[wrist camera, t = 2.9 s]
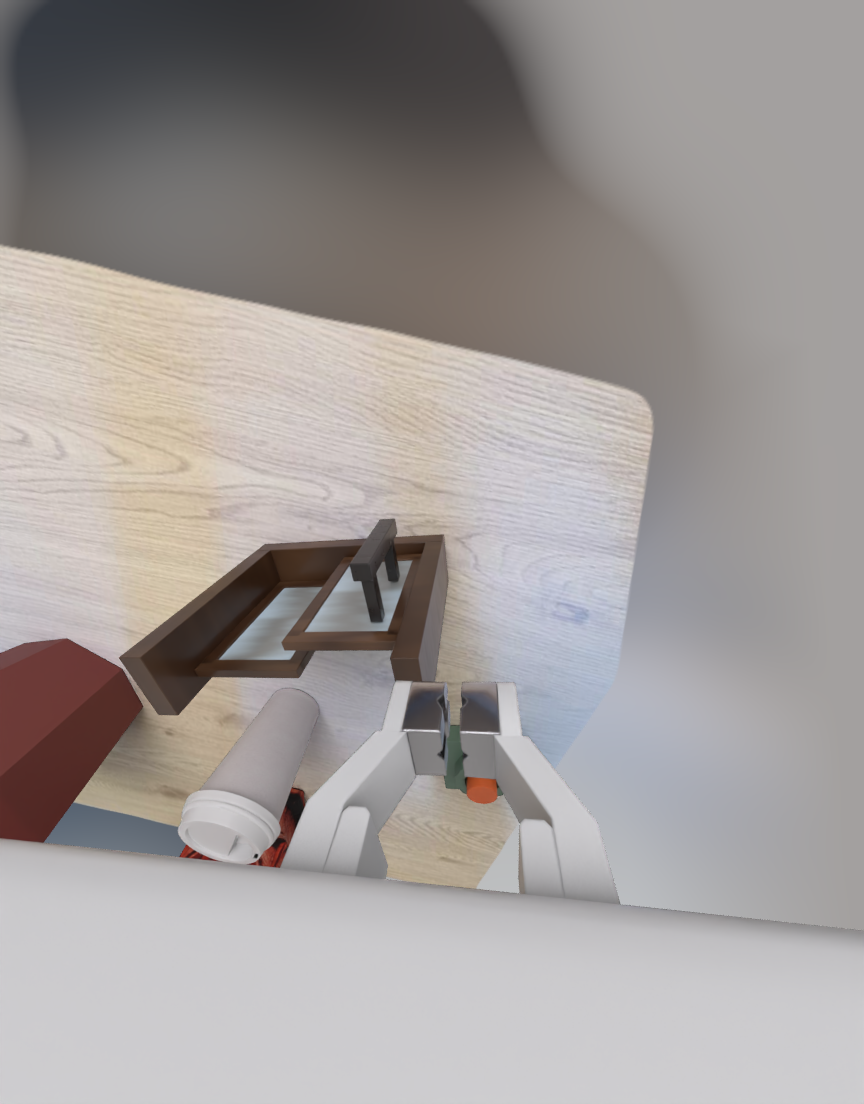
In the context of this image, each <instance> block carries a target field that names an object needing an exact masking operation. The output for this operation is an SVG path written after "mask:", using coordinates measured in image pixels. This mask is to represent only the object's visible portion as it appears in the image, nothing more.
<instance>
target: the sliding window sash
mask: <svg viewBox="0 0 864 1104" xmlns="http://www.w3.org/2000/svg"><path fill="white" fill-rule="evenodd" d="M396 534H397V528H396V522H395V519H382V520H379V522H378V523H377V525H376V526H375V528H374V529H373V531H372V532H371V534H370V535H369V536H368V538H367V539H366V541H365V542H364V544H363V545H362V547H361V548H360V550H359V551H358V552H357V554H356V555H355V557H344V558H343V560H342V561H341V563H340V564H339V565H338V567H337V568H336V569H335V571H334V572H333V573H332V575H331V576H330V577H329V579H328V580H327V582H326V583H325V584H324V586H323V587H322V588H321V590H320V591H319V592H318V594H317V595H316V596H315V598H314V599H313V600H312V602H311V603H310V604H309V606H308V607H307V609H306V610H305V611H304V613H303V614H302V615H301V617H300V618H299V619H298V621H297V622H296V623H295V625H294V626H293V627H292V629H291V630H290V631H289V632H288V634H287V635H286V636H285V638H284V639H283V641H282V642H281V643H282V646H283V648H284V650H285V651H319V650H393V647H394V644H395V641H396V638H397V634H398V631H399V628H400V625H401V621H402V618H403V615H404V612H405V608H406V605H407V602H408V599H409V595H410V592H411V589H412V585H413V582H414V579H415V576H416V572H417V569H418V566H419V563H420V559H421V556H422V554H404V555H396V549H395V544H394V538H395V536H396Z"/></svg>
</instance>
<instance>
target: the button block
mask: <svg viewBox="0 0 864 1104" xmlns="http://www.w3.org/2000/svg"><path fill="white" fill-rule="evenodd" d="M447 745H448V762H447V775H446V776H444V779H445V786H446V788H449V789H460V790H461V791H462V792H463V793H465V794H467V777H465V776H464V768H463V751H462V750H461V742H460V726H453V725H450V736H449V737H448V738H447ZM501 795H503V792H502V791H501V789H500V787H499V785H498V783H497V796H501Z"/></svg>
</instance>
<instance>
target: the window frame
mask: <svg viewBox="0 0 864 1104" xmlns="http://www.w3.org/2000/svg"><path fill="white" fill-rule="evenodd" d="M365 541H366V539H354V540H335V541H317V542H299V543H280V544H265V545H263V546H262V547H261V548H260V549H258V550H257V551H255V552H254V553H253V554H252V555H250V556H249V557H248V558H246V559H245V560H244V561H243V562H241V563H240V564H239V565H237V566H236V567H235V568H234V569H232V570H231V571H230V572H228V573H227V574H226V575H225V576H223V577H222V578H221V579H219V580H218V581H217V582H216V583H214V584H213V585H212V586H210V587H209V588H208V589H207V590H205V591H204V592H203V593H201V594H200V595H199V596H198V597H196V598H195V599H194V600H192V601H191V602H190V603H189V604H187V605H186V606H185V607H183V608H182V609H181V610H180V611H178V612H177V613H176V614H174V615H173V616H172V617H171V618H169V619H168V620H167V621H165V622H164V623H163V624H162V625H160V626H159V627H158V628H156V629H155V630H154V631H153V632H151V633H150V634H149V635H147V636H146V637H145V638H144V639H142V640H141V641H140V642H138V643H137V644H136V645H135V646H133V647H132V648H131V649H129V650H128V651H127V652H126V653H124V654H123V655H122V656H120V657H119V659H120V660H121V662H122V663H123V665H124V666H125V667H126V669H127V670H128V672H129V673H130V675H131V676H132V677H133V679H134V680H135V682H136V683H137V685H138V686H139V688H140V689H141V690H142V692H143V693H144V695H145V696H146V698H147V699H148V700H149V702H150V703H151V705H152V706H153V708H154V709H155V711H156V712H157V713H158V715H179V714H180V713H181V711H182V710H183V709H184V708H185V707H186V706H187V705H188V704H189V702H190V701H191V700H192V699H193V698H194V697H195V696H196V695H197V693H198V692H199V691H200V690H201V689H202V688H203V687H204V686H205V684H206V683H207V682H208V681H209V680H210V679H211V678H212V677H250V678H299V677H300V676H301V674H302V672H303V671H304V669H305V667H306V666H307V664H308V662H309V661H310V659H311V657H312V656H313V654H314V652H315V651H285V650H284V648H283V646H282V643H281V642H282V641H283V639H284V638H285V636H286V635H287V634H288V632H289V631H290V630H291V629H292V627H293V626H294V625H295V623H296V622H297V621H298V619H299V618H300V617H301V615H302V614H303V613H304V611H305V610H306V609H307V607H308V606H309V604H310V603H311V602H312V600H313V599H314V598H315V596H316V595H317V594H318V592H319V591H320V590H321V588H322V587H323V586H324V584H325V583H326V582H327V580H328V579H329V577H330V576H331V575H332V573H333V572H334V571H335V569H336V568H337V567H338V565H339V564H340V563H341V561H342V560H343V558H344V557H355V555H356V554H357V552H358V551H359V550H360V548H361V547H362V545H363V544H364V542H365ZM394 544H395V549H396V555H404V554H422V556H421V559H420V563H419V566H418V569H417V572H416V576H415V579H414V582H413V585H412V589H411V592H410V595H409V599H408V602H407V605H406V608H405V612H404V615H403V618H402V621H401V625H400V628H399V631H398V634H397V638H396V641H395V644H394V647H393V651H392V654H391V657H390V660H391V664H392V669H393V673H394V678H395V682H396V680H397V681H430V682H435V677H436V670H437V662H438V655H439V648H440V640H441V633H442V625H443V618H444V610H445V603H446V595H447V588H448V571H447V561H446V552H445V542H444V535H427V536H409V537H395V538H394Z"/></svg>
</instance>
